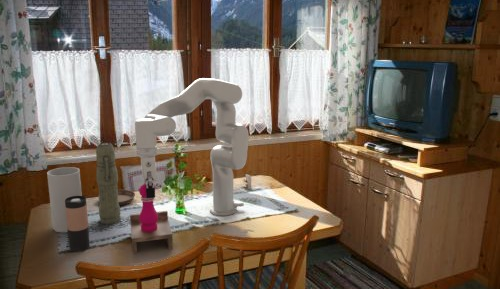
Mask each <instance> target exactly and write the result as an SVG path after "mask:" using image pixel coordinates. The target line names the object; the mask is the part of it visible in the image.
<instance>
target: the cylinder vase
mask: <svg viewBox="0 0 500 289" xmlns="http://www.w3.org/2000/svg"><path fill="white" fill-rule="evenodd" d="M46 174H47V175H46V176H47V186H48V193H49V195H48V196H49V204H50V211H51V213H50V214H51V223H52V229H53V230H54V231H55V232H56V233H63V234H65V233H68V230H67V220H66V208H65V199H66V198H68V197H72V196H83V195H82V182H81V171H80V168H78V167H74V166H72V167H70V166H67V167H66V166H65V167H57V168H54V169H50V170H48V171H47V172H46Z"/></svg>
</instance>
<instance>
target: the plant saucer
mask: <svg viewBox="0 0 500 289" xmlns="http://www.w3.org/2000/svg"><path fill="white" fill-rule="evenodd" d="M135 196H136V193H135V192H134V191H132V190H129V189H118V203H119V206H123V205H127V204H129V203H130V202H132V201H133V200H134V198H135ZM98 200H99V196H98Z"/></svg>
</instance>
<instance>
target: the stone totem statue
mask: <svg viewBox="0 0 500 289" xmlns="http://www.w3.org/2000/svg"><path fill="white" fill-rule="evenodd" d="M95 156H96V164H97V165H96V171H95V174H96V184H97V187H98V197H99V199H98V201H99V207H98V212H99V221H100V223H101V224H102V225H113V224H117V223H119V222H120V221H121V207H120V206H121V205H119V203H118V190H119V189H118V184H119V176H118V174H119V173H118V172H119V171H118V169H117V166H116V165H117V164H116V152H115V148H114V145H113V143H111V142H102V143H98V144H97V146H96V150H95Z"/></svg>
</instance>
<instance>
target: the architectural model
mask: <svg viewBox="0 0 500 289" xmlns="http://www.w3.org/2000/svg"><path fill="white" fill-rule="evenodd" d="M244 176H245V179H242V180H239V182H241V183H242V184H243V185H244V186H245V188H246V189H248V190H252V175H249V174H247V173H245V174H244Z"/></svg>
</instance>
